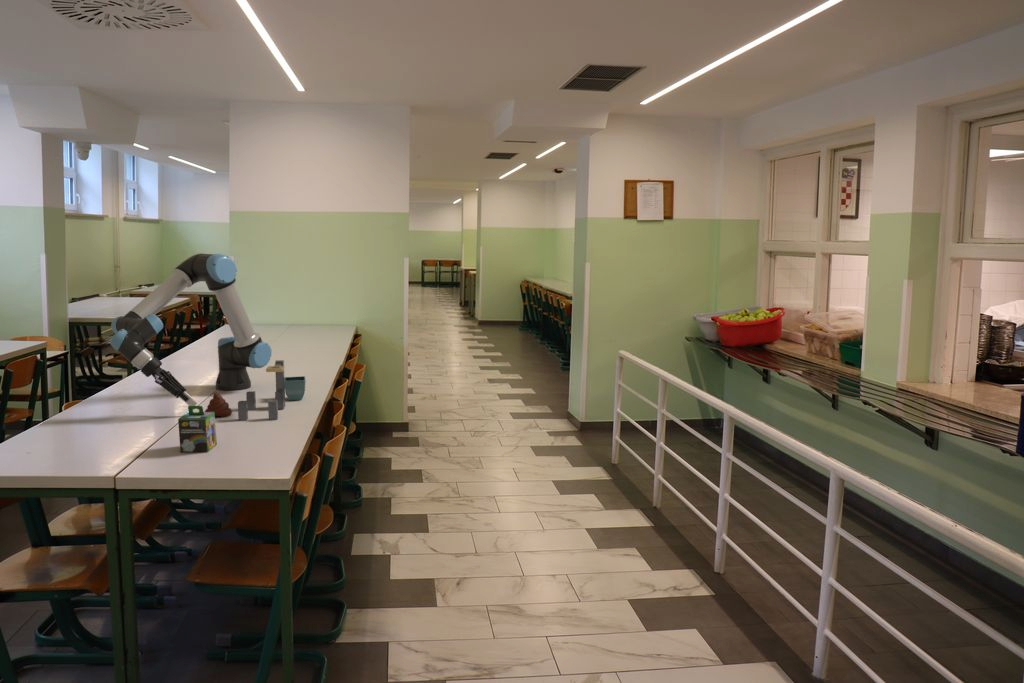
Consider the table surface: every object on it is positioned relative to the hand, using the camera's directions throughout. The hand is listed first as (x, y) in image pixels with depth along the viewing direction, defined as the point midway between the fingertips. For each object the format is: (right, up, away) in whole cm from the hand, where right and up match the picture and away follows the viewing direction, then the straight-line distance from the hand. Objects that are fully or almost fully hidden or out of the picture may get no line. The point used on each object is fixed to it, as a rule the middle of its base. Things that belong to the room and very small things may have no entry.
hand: (195, 405), depth 309 cm
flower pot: (+30, 0, +31) cm, 43 cm away
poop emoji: (+8, -4, +1) cm, 10 cm away
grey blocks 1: (+19, -4, +3) cm, 20 cm away
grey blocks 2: (+30, -4, +5) cm, 31 cm away
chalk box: (+19, -11, -44) cm, 49 cm away
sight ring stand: (+29, -3, +10) cm, 31 cm away
